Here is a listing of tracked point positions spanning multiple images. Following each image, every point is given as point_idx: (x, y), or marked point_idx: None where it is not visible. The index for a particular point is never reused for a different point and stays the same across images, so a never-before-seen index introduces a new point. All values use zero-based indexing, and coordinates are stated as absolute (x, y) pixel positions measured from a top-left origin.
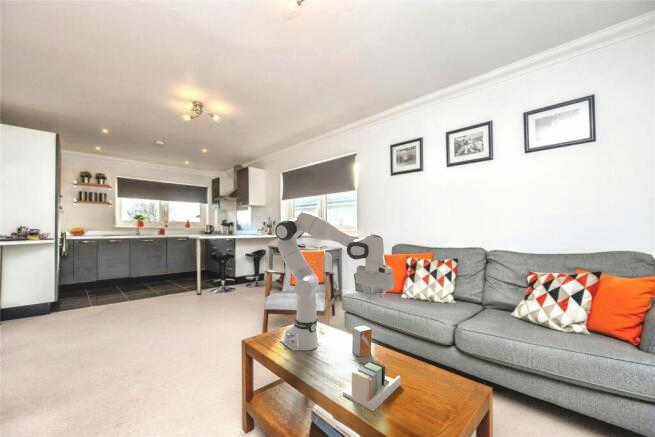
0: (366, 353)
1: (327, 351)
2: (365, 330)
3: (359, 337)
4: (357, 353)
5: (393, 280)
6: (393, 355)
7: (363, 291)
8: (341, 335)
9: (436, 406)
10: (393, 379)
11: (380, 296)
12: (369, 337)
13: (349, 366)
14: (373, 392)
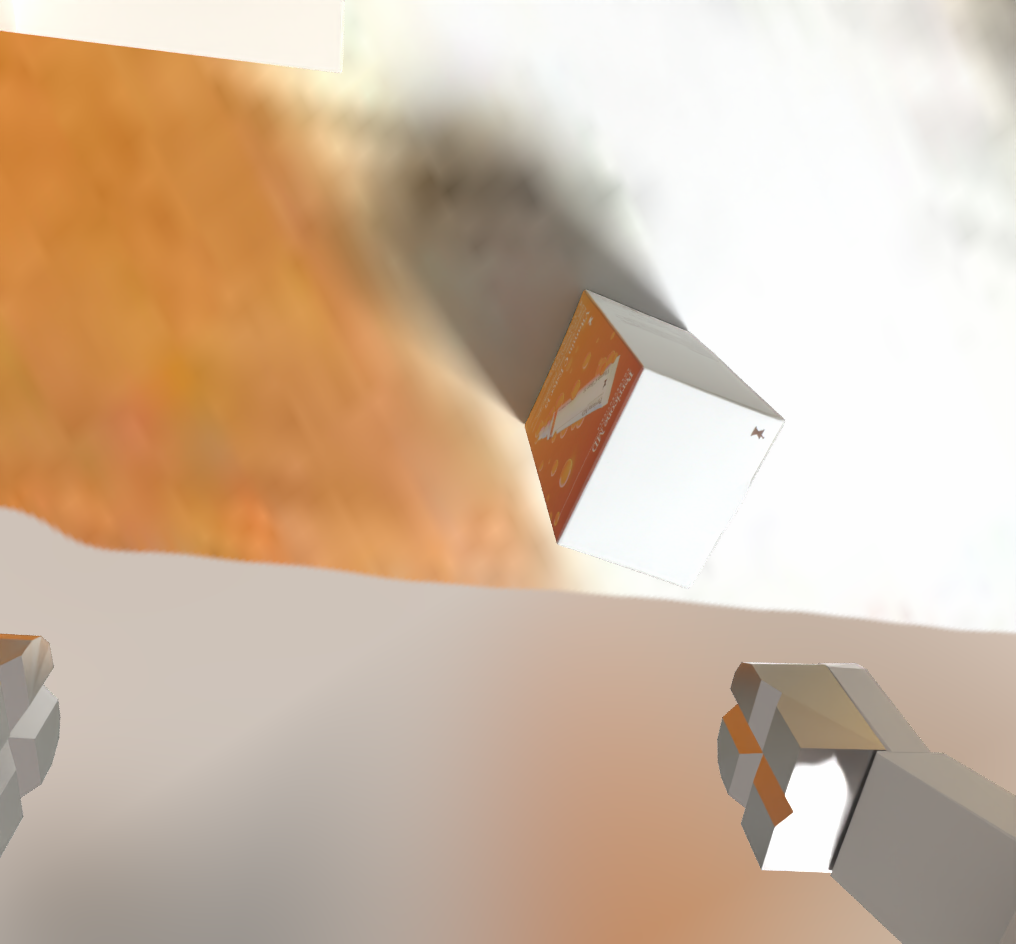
0: (549, 376)
1: (920, 184)
2: (603, 449)
3: (638, 346)
4: (619, 305)
5: None
6: (336, 523)
7: (894, 708)
8: (922, 576)
9: None
10: (69, 33)
11: (9, 643)
12: (556, 469)
13: (586, 38)
14: None
